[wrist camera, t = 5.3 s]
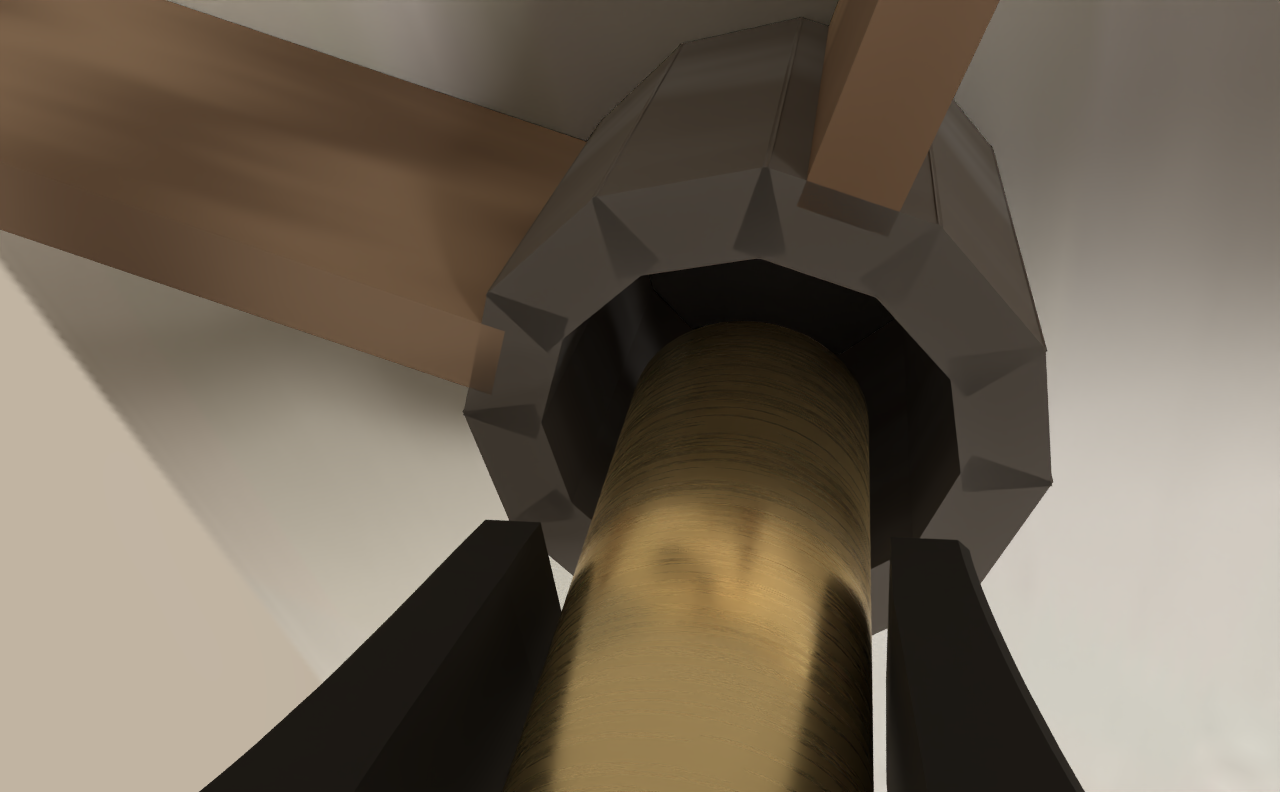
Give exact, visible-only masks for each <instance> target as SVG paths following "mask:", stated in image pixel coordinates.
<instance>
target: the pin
mask: <svg viewBox="0 0 1280 792" xmlns="http://www.w3.org/2000/svg"><path fill="white" fill-rule="evenodd" d="M502 792H874V781H873V706H872V631H871V555H870V480H869V421H868V410H867V406H866V402H865V398H864V395H863V393H862V391H861V388H860V386H859V384H858V382H857V381H856V379H855V377H854V376H853V374H852V373H851V371H850V370H849V369H848V368H847V367H846V365H845V364H844V363H843V362H842V361H841V360H840V359H839V358H838V357H837V356H836V355H835V354H834V353H833V352H831V351H830V350H829V349H827V348H826V347H824V346H823V345H822V344H820V343H819V342H817V341H815V340H813V339H812V338H810V337H808V336H806V335H804V334H802V333H799V332H797V331H794V330H792V329H789V328H785V327H782V326H778V325H774V324H769V323H763V322H755V321H732V322H722V323H716V324H711V325H707V326H704V327H701V328H697V329H694V330H692V331H690V332H688V333H685V334H683V335H681V336H679V337H678V338H676V339H674V340H673V341H671V342H670V343H668V344H667V345H666V346H664V347H663V348H662V349H661V350H660V351H659V352H657V353H656V355H655V356H654V357H653V358H652V359H651V360H650V361H649V363H648V364H647V366H646V367H645V369H644V370H643V372H642V373H641V376H640V378H639V380H638V383H637V385H636V388H635V391H634V394H633V397H632V400H631V403H630V406H629V409H628V412H627V415H626V418H625V421H624V424H623V427H622V430H621V433H620V436H619V439H618V442H617V445H616V448H615V451H614V454H613V457H612V460H611V463H610V466H609V470H608V473H607V476H606V479H605V482H604V485H603V488H602V491H601V494H600V497H599V500H598V503H597V506H596V509H595V512H594V515H593V518H592V521H591V524H590V527H589V530H588V533H587V536H586V539H585V542H584V545H583V548H582V551H581V554H580V557H579V560H578V564H577V567H576V570H575V573H574V576H573V579H572V582H571V585H570V588H569V591H568V594H567V597H566V600H565V603H564V606H563V609H562V612H561V615H560V618H559V621H558V624H557V627H556V630H555V633H554V636H553V639H552V642H551V645H550V648H549V651H548V654H547V658H546V661H545V664H544V667H543V670H542V673H541V676H540V679H539V682H538V685H537V688H536V691H535V694H534V697H533V700H532V703H531V706H530V709H529V712H528V715H527V718H526V721H525V724H524V727H523V730H522V733H521V736H520V739H519V742H518V745H517V748H516V752H515V755H514V758H513V761H512V764H511V767H510V770H509V773H508V776H507V779H506V782H505V785H504V788H503V791H502Z"/></svg>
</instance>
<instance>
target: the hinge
mask: <svg viewBox="0 0 1280 792" xmlns="http://www.w3.org/2000/svg"><path fill="white" fill-rule="evenodd" d="M999 1H1000V0H839V1H838V3H837V6H836V9H835V11H834V14H833V17H832V19H831V22H830V25H829V26H826V25H823V24H820V23H817V22H814V21H811V20H808V19H805V18H804V17H799V18H796V19H792V20H787V21H783V22H778V23H774V24H769V25H765V26H760V27H756V28H751V29H746V30H742V31H737V32H733V33H728V34H724V35H719V36H715V37H710V38H706V39H701V40H697V41H692V42H688V43H684V42H683V43H682V44H680V45H679V47H678V48H677V49H676V50H675V51H674V52H673V53H672V54H671V55H670V56H669V57H668V58H667V59H666V60H665V61H664V62H662V63H661V64H660V65H659V66H658V67H657V68H656V69H655V70H654V71H653V72H652V73H651V74H650V75H649V76H648V77H647V78H646V79H645V80H644V81H643V82H642V83H641V84H640V85H638V86H637V87H636V88H635V89H634V90H633V91H632V92H631V93H630V94H629V95H628V96H627V97H626V98H625V99H624V100H623V101H622V102H621V103H620V104H619V105H618V106H617V107H615V108H614V109H613V110H612V111H611V112H610V113H609V114H608V115H607V116H606V117H605V118H604V119H602V120H601V121H600V123H599V124H598V126H597V127H596V129H595V130H594V132H593V133H592V135H591V136H590V138H589V139H588V141H587V142H586V141H583V140H580V139H577V138H574V137H571V136H568V135H565V134H562V133H559V132H556V131H553V130H550V129H547V128H544V127H541V126H538V125H535V124H532V123H529V122H526V121H523V120H520V119H517V118H514V117H511V116H508V115H505V114H502V113H499V112H496V111H493V110H490V109H487V108H485V107H482V106H479V105H476V104H473V103H470V102H467V101H464V100H461V99H458V98H455V97H452V96H449V95H446V94H443V93H440V92H437V91H434V90H431V89H428V88H425V87H422V86H419V85H416V84H413V83H410V82H407V81H404V80H401V79H398V78H395V77H392V76H389V75H386V74H383V73H380V72H377V71H374V70H372V69H369V68H366V67H363V66H360V65H357V64H354V63H351V62H348V61H345V60H342V59H339V58H336V57H333V56H330V55H327V54H324V53H321V52H318V51H315V50H312V49H309V48H306V47H303V46H300V45H297V44H294V43H291V42H288V41H285V40H282V39H279V38H276V37H273V36H270V35H267V34H264V33H261V32H258V31H256V30H253V29H250V28H247V27H244V26H241V25H238V24H235V23H232V22H229V21H226V20H223V19H220V18H217V17H214V16H211V15H208V14H205V13H202V12H199V11H196V10H193V9H190V8H187V7H184V6H181V5H178V4H175V3H172V2H169V1H166V0H0V229H1V230H4V231H6V232H9V233H12V234H15V235H18V236H21V237H24V238H27V239H30V240H33V241H36V242H39V243H42V244H45V245H48V246H51V247H54V248H57V249H60V250H63V251H66V252H69V253H72V254H75V255H78V256H81V257H84V258H87V259H90V260H93V261H95V262H98V263H101V264H104V265H107V266H110V267H113V268H116V269H119V270H122V271H125V272H128V273H131V274H134V275H137V276H140V277H143V278H146V279H149V280H152V281H155V282H158V283H161V284H164V285H167V286H170V287H173V288H176V289H179V290H181V291H184V292H187V293H190V294H193V295H196V296H199V297H202V298H205V299H208V300H211V301H214V302H217V303H220V304H223V305H226V306H229V307H232V308H235V309H238V310H241V311H244V312H247V313H250V314H253V315H256V316H259V317H262V318H265V319H267V320H270V321H273V322H276V323H279V324H282V325H285V326H288V327H291V328H294V329H297V330H300V331H303V332H306V333H309V334H312V335H315V336H318V337H321V338H324V339H327V340H330V341H333V342H336V343H339V344H342V345H345V346H348V347H351V348H354V349H356V350H359V351H362V352H365V353H368V354H371V355H374V356H377V357H380V358H383V359H386V360H389V361H392V362H395V363H398V364H401V365H404V366H407V367H410V368H413V369H416V370H419V371H422V372H425V373H428V374H431V375H434V376H437V377H440V378H442V379H445V380H448V381H451V382H454V383H457V384H460V385H463V386H466V387H469V389H468V394H467V399H466V404H465V408H464V410H463V413H464V414H463V415H464V416H465V418H466V420H467V422H468V425H469V427H470V429H471V432H472V434H473V436H474V439H475V441H476V443H477V446H478V448H479V450H480V453H481V455H482V457H483V460H484V462H485V464H486V467H487V469H488V471H489V474H490V476H491V478H492V481H493V483H494V485H495V488H496V490H497V492H498V495H499V497H500V500H501V502H502V504H503V507H504V509H505V511H506V514H507V516H508V518H509V521H524V522H541V526H542V530H543V535H544V539H545V543H546V548H547V552H548V555H549V556H550V557H552V558H553V559H554V560H555V561H556V562H558V563H559V564H560V565H561V566H562V567H564V568H565V569H566V570H567V571H568V572H569V573H571V574H572V575H573V576H574V573H575V570H576V567H577V564H578V560H579V557H580V554H581V551H582V548H583V545H584V542H585V539H586V536H587V533H588V530H589V527H590V524H591V521H592V518H593V515H594V512H595V509H596V506H597V503H598V500H599V497H600V494H601V491H602V488H603V485H604V482H605V479H606V476H607V473H608V470H609V466H610V463H611V460H612V457H613V454H614V451H615V448H616V445H617V442H618V439H619V436H620V433H621V430H622V427H623V424H624V421H625V418H626V415H627V412H628V409H629V406H630V403H631V400H632V397H633V394H634V391H635V388H636V385H637V383H638V380H639V378H640V376H641V373H642V372H643V370H644V369H645V367H646V366H647V364H648V363H649V361H650V360H651V359H652V358H653V357H654V356H655V355H656V353H657V352H659V351H660V350H661V349H662V348H663V347H664V346H666V345H667V344H668V343H670V342H671V341H673V340H674V339H676V338H678V337H679V336H681V335H683V334H685V333H688V332H690V331H692V330H693V329H692V328H691V327H690V326H689V325H688V324H687V323H686V322H685V321H684V320H683V319H682V318H681V317H680V316H679V315H678V314H677V313H676V312H675V311H674V310H673V309H672V308H671V307H670V306H669V305H668V304H667V303H666V302H665V301H664V300H663V299H662V298H661V297H660V296H659V295H658V294H657V293H656V292H655V291H654V290H653V289H652V285H651V281H650V278H649V274H655V273H662V272H669V271H676V270H682V269H689V268H696V267H703V266H709V265H716V264H723V263H729V262H736V261H743V260H750V259H756V258H760V259H763V260H766V261H769V262H772V263H775V264H778V265H780V266H783V267H786V268H789V269H792V270H795V271H798V272H801V273H804V274H807V275H810V276H813V277H816V278H819V279H822V280H825V281H828V282H831V283H834V284H837V285H840V286H843V287H846V288H849V289H852V290H855V291H858V292H861V293H864V294H867V295H870V296H873V297H876V298H877V299H878V300H879V301H880V302H881V303H882V305H883V306H884V307H885V308H886V309H887V310H888V311H889V312H890V313H891V315H892V316H893V317H894V318H895V319H894V320H892V321H891V322H889V323H888V324H886V325H885V326H883V327H881V328H880V329H878V330H877V331H875V332H874V333H872V334H871V335H869V336H868V337H866V338H865V339H863V340H862V341H860V342H858V343H857V344H855V345H854V346H852V347H851V348H849V349H848V350H846V351H845V352H843V353H841V354H835V355H836V356H837V357H838V358H839V359H840V360H841V361H842V362H843V363H844V364H845V365H846V367H847V368H848V369H849V370H850V371H851V373H852V374H853V376H854V377H855V379H856V381H857V382H858V384H859V386H860V388H861V391H862V393H863V395H864V398H865V402H866V406H867V410H868V421H869V480H870V555H871V631H872V635H874V634H876V633H878V632H880V631H882V630H885V629H887V628H888V604H889V571H890V538H891V537H902V538H926V539H949V540H959V541H960V542H961V543H962V544H963V545H964V546H965V547H967V548H968V549H969V550H970V554H971V558H972V561H973V564H974V567H975V570H976V573H977V576H978V579H979V581H980V584H981V582H982V581H983V579H984V578H985V577H986V575H987V574H988V572H989V571H990V570H991V568H992V567H993V565H994V564H995V563H996V561H997V560H998V558H999V557H1000V556H1001V554H1002V553H1003V551H1004V550H1005V549H1006V547H1007V546H1008V544H1009V543H1010V542H1011V540H1012V539H1013V537H1014V536H1015V535H1016V533H1017V532H1018V530H1019V529H1020V528H1021V526H1022V525H1023V524H1024V522H1025V521H1026V519H1027V518H1028V517H1029V515H1030V514H1031V512H1032V511H1033V510H1034V508H1035V507H1036V505H1037V504H1038V503H1039V501H1040V500H1041V498H1042V497H1043V496H1044V494H1045V493H1046V491H1047V490H1048V489H1049V487H1050V486H1052V483H1053V479H1052V474H1051V456H1050V434H1049V413H1048V392H1047V370H1046V352H1047V349H1046V345H1045V341H1044V337H1043V334H1042V330H1041V326H1040V322H1039V319H1038V315H1037V311H1036V307H1035V304H1034V300H1033V296H1032V293H1031V289H1030V285H1029V281H1028V278H1027V274H1026V270H1025V266H1024V263H1023V259H1022V255H1021V252H1020V248H1019V244H1018V240H1017V237H1016V233H1015V229H1014V225H1013V222H1012V218H1011V214H1010V211H1009V207H1008V203H1007V199H1006V196H1005V192H1004V188H1003V184H1002V181H1001V177H1000V173H999V169H998V166H997V162H996V158H995V155H994V151H993V149H992V146H990V145H989V144H988V142H987V141H986V140H985V139H984V137H983V136H982V135H981V134H980V132H979V131H978V130H977V129H976V127H975V126H974V125H973V124H972V122H971V121H970V120H969V119H968V117H967V116H966V115H965V114H964V112H963V111H962V110H961V109H960V107H959V106H958V105H957V104H956V102H955V101H954V100H953V98H954V96H955V94H956V92H957V89H958V87H959V85H960V83H961V81H962V79H963V77H964V75H965V73H966V70H967V68H968V66H969V64H970V62H971V60H972V58H973V56H974V53H975V51H976V49H977V47H978V45H979V43H980V41H981V39H982V37H983V34H984V32H985V30H986V28H987V26H988V24H989V22H990V20H991V18H992V15H993V13H994V11H995V9H996V7H997V5H998V3H999Z"/></svg>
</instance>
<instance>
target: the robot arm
mask: <svg viewBox="0 0 1280 792" xmlns="http://www.w3.org/2000/svg"><path fill="white" fill-rule="evenodd" d="M560 615H561V608H560V604H559V599H558V595H557V591H556V586H555V582H554V578H553V573H552V569H551V565H550V560H549V556H548V552H547V548H546V543H545V539H544V535H543V530H542V526H541V522H524V521H500V520H485V521H484V522H483V523H482V524H481V525H480V526H479V527H478V528H477V529H476V530H475V531H474V532H473V533H472V534H471V535H470V536H469V537H468V538H467V539H466V540H465V541H464V542H463V543H462V544H461V545H460V546H459V547H458V548H457V549H456V550H455V551H454V552H453V553H452V554H451V555H450V556H449V557H448V558H447V559H446V560H445V561H444V562H443V563H442V564H441V565H440V566H439V567H438V568H437V569H436V570H435V571H434V572H433V573H432V574H431V575H430V576H429V577H428V578H427V580H426V581H425V582H424V583H423V584H422V585H421V586H420V587H419V588H418V589H417V590H416V591H415V592H414V593H413V594H412V595H411V596H410V597H409V598H408V599H407V600H406V601H405V602H404V603H403V604H402V605H401V606H400V607H399V608H398V609H397V610H396V611H395V612H394V613H393V614H392V615H391V616H390V617H389V618H388V619H387V620H386V621H385V622H384V623H383V624H382V625H381V626H380V627H379V628H378V629H377V630H376V631H375V632H374V633H373V634H372V635H371V636H370V637H369V638H368V639H367V640H366V641H365V642H364V643H363V644H362V645H361V646H360V647H359V648H358V649H357V650H356V651H355V652H354V653H353V654H352V655H351V656H350V657H349V658H348V659H347V660H346V661H345V662H344V663H343V664H342V665H341V666H340V667H339V668H338V669H337V670H336V671H335V672H334V673H333V674H332V675H331V676H330V677H329V678H327V679H326V680H325V681H324V682H323V683H322V684H321V685H320V686H319V687H318V688H317V689H316V690H315V691H314V692H312V694H310V695H309V696H308V697H307V698H306V699H305V700H304V701H303V702H301V703H300V704H299V705H298V706H297V707H296V708H295V709H294V710H293V711H292V712H291V713H289V714H288V715H287V716H286V717H285V718H284V719H283V720H282V721H281V722H280V723H278V724H277V725H276V726H275V727H274V728H273V729H272V730H271V731H270V732H269V733H267V734H266V735H265V736H264V737H263V738H262V739H261V740H260V741H259V742H258V743H257V744H255V745H254V746H253V747H252V748H251V749H250V750H248V751H247V752H246V753H245V754H244V755H243V756H241V757H240V758H239V759H238V760H237V761H236V762H234V763H233V764H232V765H231V766H230V767H229V768H227V769H226V770H225V771H224V772H223V773H221V774H220V775H219V776H218V777H217V778H215V779H214V780H213V781H212V782H211V783H209V784H208V785H207V786H206V787H204V788H203V789H202V790H201V791H200V792H502V791H503V788H504V785H505V782H506V779H507V776H508V773H509V770H510V767H511V764H512V761H513V758H514V755H515V752H516V748H517V745H518V742H519V739H520V736H521V733H522V730H523V727H524V724H525V721H526V718H527V715H528V712H529V709H530V706H531V703H532V700H533V697H534V694H535V691H536V688H537V685H538V682H539V679H540V676H541V673H542V670H543V667H544V664H545V661H546V658H547V654H548V651H549V648H550V645H551V642H552V639H553V636H554V633H555V630H556V627H557V624H558V621H559V618H560ZM886 773H887V792H1085V791H1084V790H1083V788H1082V786H1081V785H1080V783H1079V781H1078V779H1077V778H1076V776H1075V774H1074V772H1073V771H1072V769H1071V767H1070V765H1069V764H1068V762H1067V760H1066V759H1065V757H1064V755H1063V753H1062V752H1061V750H1060V748H1059V746H1058V744H1057V742H1056V740H1055V739H1054V737H1053V735H1052V733H1051V731H1050V729H1049V727H1048V726H1047V724H1046V722H1045V720H1044V718H1043V716H1042V714H1041V713H1040V711H1039V709H1038V707H1037V705H1036V703H1035V701H1034V700H1033V698H1032V696H1031V694H1030V692H1029V690H1028V688H1027V686H1026V684H1025V682H1024V680H1023V678H1022V676H1021V674H1020V672H1019V670H1018V668H1017V666H1016V664H1015V662H1014V660H1013V658H1012V656H1011V654H1010V652H1009V649H1008V647H1007V645H1006V643H1005V641H1004V639H1003V636H1002V634H1001V632H1000V630H999V628H998V626H997V623H996V621H995V619H994V616H993V614H992V612H991V609H990V607H989V605H988V602H987V600H986V597H985V595H984V592H983V590H982V587H981V584H980V581H979V579H978V576H977V573H976V570H975V567H974V564H973V561H972V558H971V554H970V550H969V549H968V548H967V547H965V546H964V545H963V544H962V543H961V542H960V541H959V540H949V539H926V538H902V537H891V538H890V571H889V604H888V637H887V670H886Z"/></svg>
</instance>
